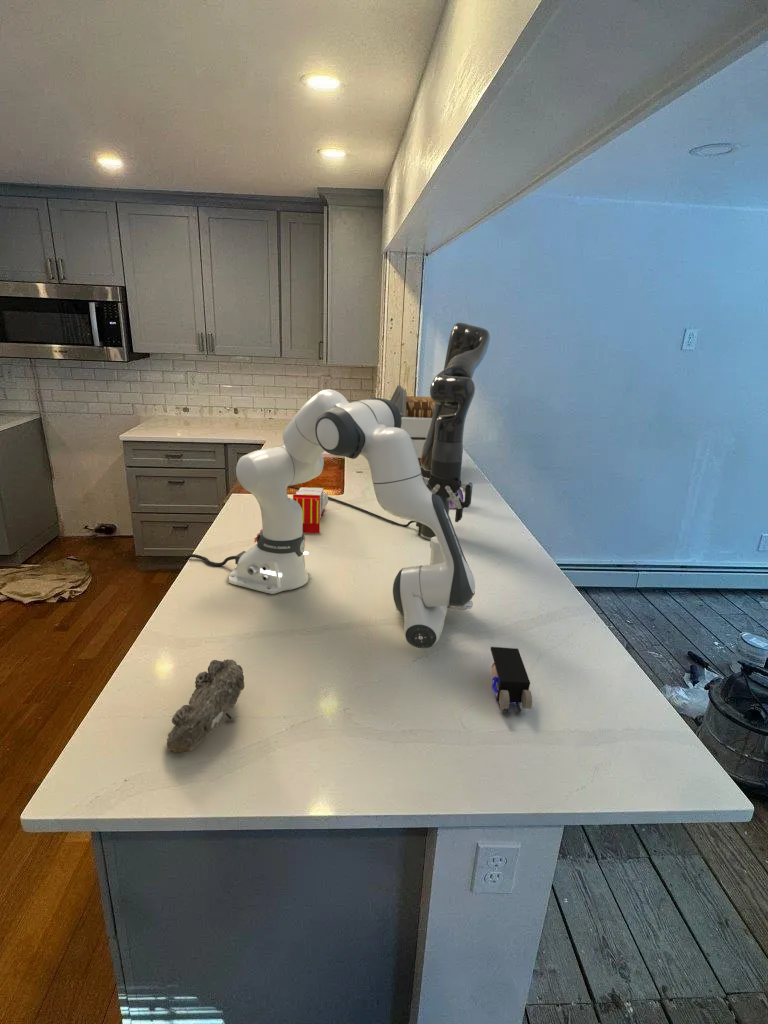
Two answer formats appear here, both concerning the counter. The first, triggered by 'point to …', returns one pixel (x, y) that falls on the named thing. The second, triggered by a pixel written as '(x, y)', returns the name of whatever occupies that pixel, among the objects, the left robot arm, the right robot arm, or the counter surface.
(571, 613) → the counter surface
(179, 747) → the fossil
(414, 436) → the transformer
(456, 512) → the right robot arm
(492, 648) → the figurine character
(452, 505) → the figurine
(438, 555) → the beige canister
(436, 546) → the lid
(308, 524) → the toy
